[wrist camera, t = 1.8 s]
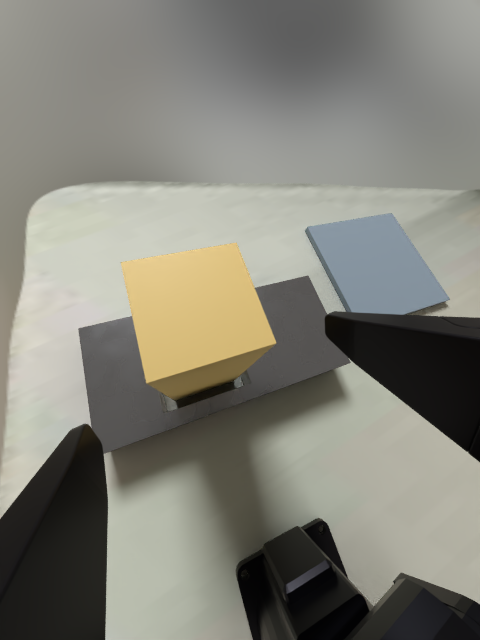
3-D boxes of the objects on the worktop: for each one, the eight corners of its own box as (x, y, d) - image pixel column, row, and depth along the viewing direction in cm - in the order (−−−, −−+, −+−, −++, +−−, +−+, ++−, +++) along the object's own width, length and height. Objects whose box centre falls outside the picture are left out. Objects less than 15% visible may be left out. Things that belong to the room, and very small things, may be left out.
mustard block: (233, 381, 19) (276, 342, 9) (175, 400, 17) (146, 383, 7) (216, 328, 20) (236, 242, 10) (161, 343, 19) (120, 262, 9)
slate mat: (444, 301, 26) (449, 299, 25) (356, 330, 22) (360, 328, 22) (388, 216, 29) (391, 213, 29) (305, 230, 26) (307, 226, 25)
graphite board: (333, 368, 21) (350, 362, 18) (110, 450, 16) (95, 456, 13) (297, 289, 23) (308, 275, 21) (93, 339, 18) (78, 328, 16)
